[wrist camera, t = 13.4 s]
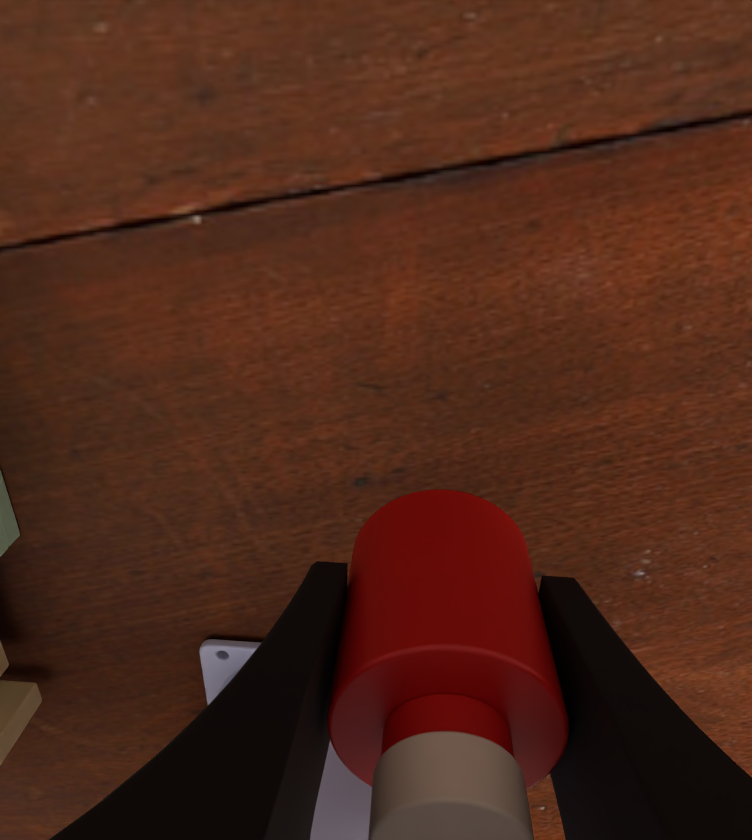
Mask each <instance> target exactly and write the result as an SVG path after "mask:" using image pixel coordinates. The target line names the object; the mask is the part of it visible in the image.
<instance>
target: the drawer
mask: <svg viewBox="0 0 752 840" xmlns="http://www.w3.org/2000/svg"><path fill="white" fill-rule="evenodd" d="M8 666H9V663H8V660H7V657H6V655H5V652H4V649H3V646H2V644H1V641H0V677H1V675H2V674H3V673H4V671H5V670H6V669H7V667H8ZM41 702H42V697H41V694H40V691H39V688H38V685H37V683H34V682H20V681H7V680H0V766H1V764H2V763H3V761H4V760H5V758H6V756H7V755H8V753H9V752H10V750H11V749H12V747H13V746H14V744H15V743H16V741H17V739H18V738H19V736H20V735H21V733H22V732H23V730H24V729H25V727H26V726H27V724H28V722H29V721H30V719H31V718H32V716H33V715H34V713H35V712H36V710H37V709H38V707H39V706H40V704H41Z"/></svg>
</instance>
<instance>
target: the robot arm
mask: <svg viewBox="0 0 752 840" xmlns="http://www.w3.org/2000/svg"><path fill="white" fill-rule="evenodd" d="M346 594H347V563H334V562H319V561H317V562H316V563H314V564H313V565H312V566H311V567H310V569H309V571H308V573H307V575H306V577H305V579H304V580H303V582H302V584H301V586H300V587H299V589H298V591H297V592H296V594H295V595H294V597H293V598H292V600H291V602H290V603H289V605H288V606H287V608H286V609H285V611H284V612H283V614H282V615H281V616H280V618H279V619H278V621H277V622H276V623H275V625H274V626H273V628H272V629H271V630H270V632H269V633H268V635H267V636H266V637H265V639H264V640H263V641H262V642H247V641H232V640H218V639H208V640H206V641H204V642H203V643H202V645H201V648H200V651H199V654H200V660H201V666H202V672H203V679H204V685H205V691H206V698H207V704H208V706H207V707H206V708H205V709H204V710H203V711H202V712H201V713H200V714H199V715H198V716H197V717H196V718H195V719H194V720H193V721H192V722H191V723H190V724H189V725H188V726H187V727H186V728H185V729H184V730H183V731H182V732H181V733H180V734H179V735H178V736H176V737H175V738H174V739H173V740H172V741H171V742H170V743H169V744H168V745H167V746H166V747H165V748H164V749H163V750H162V751H160V752H159V753H158V754H157V755H156V756H155V757H154V758H153V759H151V760H150V761H149V762H148V763H147V764H146V765H144V766H143V767H142V768H141V769H140V770H138V771H137V772H136V773H135V774H134V775H132V776H131V777H130V778H129V779H128V780H126V781H125V782H124V783H123V784H121V785H120V786H119V787H118V788H117V789H115V790H114V791H113V792H112V793H111V794H109V795H108V796H107V797H106V798H105V799H103V800H102V801H101V802H99V803H98V804H97V805H96V806H94V807H93V808H92V809H90V810H89V811H88V812H86V813H85V814H84V815H82V816H81V817H80V818H78V819H77V820H75V821H74V822H73V823H71V824H70V825H68V826H67V827H66V828H64V829H63V830H62V831H60V832H59V833H57V834H56V835H55V836H53V837H52V838H50V839H49V840H368V836H369V823H370V809H371V796H372V787H371V786H369V785H368V784H366V783H365V782H363V781H362V780H360V779H359V778H358V777H357V776H355V775H354V774H353V773H352V772H351V771H350V770H349V769H348V768H347V767H346V766H345V765H344V764H343V763H342V761H341V760H340V758H339V757H338V756H337V754H336V752H335V750H334V748H333V746H332V743H331V740H330V737H329V733H328V727H327V713H328V706H329V700H330V693H331V687H332V681H333V674H334V668H335V662H336V656H337V649H338V643H339V637H340V631H341V626H342V619H343V613H344V607H345V600H346ZM539 599H540V603H541V607H542V611H543V615H544V619H545V624H546V628H547V632H548V636H549V640H550V644H551V648H552V652H553V656H554V660H555V665H556V669H557V673H558V677H559V681H560V685H561V689H562V693H563V697H564V702H565V706H566V710H567V714H568V718H569V734H568V741H567V744H566V747H565V750H564V753H563V755H562V757H561V758H560V760H559V762H558V763H557V765H556V766H555V767H554V768H553V770H552V771H551V772H550V774H551V778H552V782H553V786H554V790H555V794H556V799H557V803H558V807H559V811H560V815H561V819H562V824H563V828H564V833H565V838H566V840H752V777H750V776H749V775H748V774H747V773H746V772H745V771H744V770H743V769H742V768H740V767H739V766H738V765H737V764H736V763H735V762H734V761H733V760H732V759H731V758H730V757H729V756H727V755H726V754H725V753H724V752H723V751H722V750H721V749H720V748H719V747H718V746H717V745H716V744H715V743H714V742H713V741H712V740H711V739H710V738H709V737H708V736H707V735H706V734H705V733H704V732H703V731H702V730H700V729H699V727H698V726H697V725H696V724H695V723H694V722H693V721H692V720H691V719H690V718H689V717H688V716H687V715H686V714H685V713H684V712H683V711H682V710H681V709H680V708H679V706H678V705H677V704H676V703H675V702H674V701H673V700H672V699H671V698H670V697H669V695H668V694H667V693H666V692H665V691H664V690H663V689H662V688H661V687H660V685H659V684H658V683H657V682H656V681H655V680H654V679H653V677H652V676H651V675H650V674H649V673H648V672H647V670H646V669H645V668H644V667H643V666H642V664H641V663H640V662H639V661H638V659H637V658H636V657H635V656H634V655H633V653H632V652H631V651H630V650H629V649H628V647H627V646H626V645H625V644H624V642H623V641H622V640H621V639H620V637H619V636H618V635H617V634H616V632H615V631H614V630H613V628H612V627H611V626H610V625H609V623H608V622H607V621H606V619H605V618H604V617H603V615H602V614H601V613H600V611H599V610H598V609H597V607H596V606H595V605H594V603H593V602H592V601H591V599H590V598H589V597H588V595H587V594H586V593H585V591H584V590H583V589H582V587H581V586H580V584H579V583H578V582H577V581H576V580H575V579H574V578H568V577H553V576H542V579H541V584H540V589H539ZM223 651H225V652H223Z"/></svg>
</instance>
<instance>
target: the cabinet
mask: <svg viewBox="0 0 752 840" xmlns="http://www.w3.org/2000/svg"><path fill="white" fill-rule="evenodd" d="M19 536H20V531H19V528H18V525H17V522H16V518H15V515H14V512H13V509H12V505H11V502H10V499H9V496H8V492H7V489H6V486H5V483H4V479H3V476H2V473H1V470H0V557H1V556H2V554H3V553H4V552H5V551H6V550H7V549H8V547H9V546H10V545H11V544H12V543H13V542H14V541H15V540H16V539H17V538H18V537H19Z"/></svg>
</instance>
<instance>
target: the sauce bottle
mask: <svg viewBox="0 0 752 840" xmlns="http://www.w3.org/2000/svg"><path fill="white" fill-rule="evenodd" d="M327 727H328V733H329V737H330V740H331V743H332V746H333V748H334V750H335V752H336V754H337V756H338V757H339V758H340V760H341V761H342V763H343V764H344V765H345V766H346V767H347V768H348V769H349V770H350V771H351V772H352V773H353V774H354V775H355V776H357V777H358V778H359V779H360V780H362V781H363V782H365V783H366V784H368V785H369V786H371V787H372V796H371V809H370V823H369V836H368V840H534V837H533V830H532V824H531V817H530V811H529V804H528V798H527V791H526V790H527V789H529V788H531V787H532V786H534V785H535V784H537V783H538V782H540V781H541V780H542V779H543V778H544V777H546V776H547V775H548V774H549V773H550V772H551V771H552V770H553V768H554V767H555V766H556V765H557V763H558V762H559V760H560V758H561V757H562V755H563V753H564V750H565V747H566V744H567V741H568V734H569V718H568V714H567V710H566V706H565V702H564V697H563V693H562V689H561V685H560V681H559V677H558V673H557V669H556V665H555V660H554V656H553V652H552V648H551V644H550V640H549V636H548V632H547V628H546V624H545V619H544V615H543V611H542V607H541V603H540V599H539V595H538V591H537V587H536V582H535V578H534V574H533V570H532V566H531V562H530V558H529V554H528V550H527V546H526V542H525V539H524V537H523V535H522V533H521V531H520V530H519V528H518V526H517V525H516V524H515V522H514V521H513V520H512V519H511V518H510V517H509V516H508V515H507V514H506V513H505V512H503V511H502V510H501V509H500V508H498V507H497V506H495V505H494V504H492V503H491V502H489V501H487V500H485V499H483V498H481V497H478V496H475V495H472V494H469V493H465V492H460V491H454V490H425V491H419V492H415V493H410V494H407V495H405V496H402V497H399V498H397V499H395V500H393V501H391V502H389V503H387V504H386V505H384V506H383V507H381V508H380V509H379V510H378V511H377V512H375V513H374V514H373V515H372V516H371V517H370V518H369V519H368V520H367V522H366V523H365V524H364V526H363V527H362V529H361V530H360V532H359V534H358V536H357V539H356V541H355V545H354V549H353V555H352V561H351V567H350V574H349V580H348V586H347V594H346V600H345V607H344V613H343V619H342V626H341V631H340V637H339V643H338V649H337V656H336V662H335V668H334V674H333V681H332V687H331V693H330V700H329V706H328V713H327Z"/></svg>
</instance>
